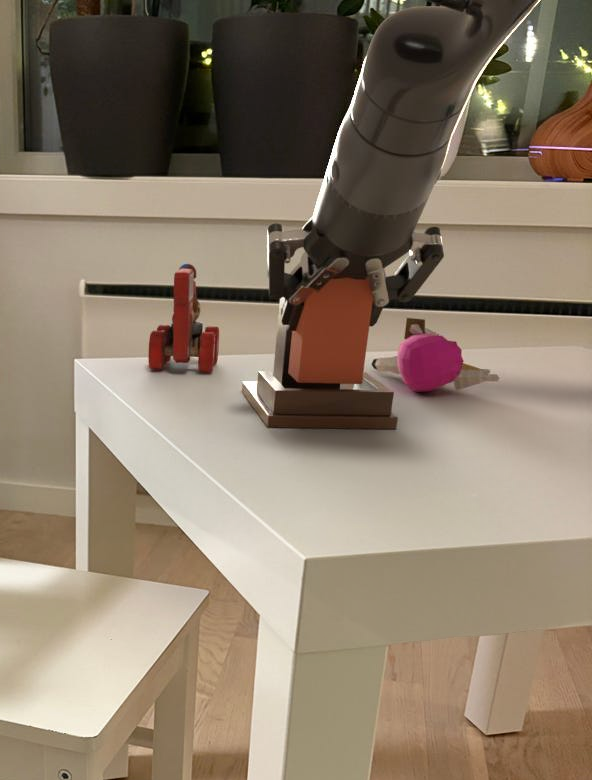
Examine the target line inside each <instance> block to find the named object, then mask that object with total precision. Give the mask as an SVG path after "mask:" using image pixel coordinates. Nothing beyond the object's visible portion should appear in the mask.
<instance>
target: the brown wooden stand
mask: <svg viewBox="0 0 592 780" xmlns="http://www.w3.org/2000/svg"><path fill="white" fill-rule="evenodd" d="M283 298H284V297H282V298H281V299H279V305H278V306H279V307H278V315H277V316H278V317H277V325H276V326H277V328H276V340H275V351H274V360H273V361H274V362H273V370H272V371H273V372H271V371H269V370H258V372H257V381H247V380H246V381H244V380H243V381H242V382H241V392H242V394H243V396H244V397H245V398H246V400H247V401H248V402H249V403H250V405H251V406H252V408H253V409H254V410H255V412H256V413H257V415H258V416H259V418H260V419H261V420H262V422H263V423H264V425H265V426H266V427H267V428H281V429H282V428H283V429H285V428H286V429H288V428H289V429H297V428H298V429H351V430H352V429H355V430H356V429H360V430H397V429H398V428H397V427H398V421H399V417H398V416H396V415H395V414H394V413H393V412H392V410H393V402H394V395H395V392H394V391H393V390H392V389H390V388H388V387H387V385H386V386H385V384H383V383H382V382H380V381H379V380H378V379H376V378H375V377H374V376H372V375H371V374H369V373H368V372H364V371H363V379H362V384H334V383H298V382H297V381H296V380H295V379H294V378H293V377H292V376H291V375H290V374H289V373H288V370H289V359H290V349H291V339H292V331H287V325H283V324H282V319H281V305H282V302H283Z"/></svg>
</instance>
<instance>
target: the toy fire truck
mask: <svg viewBox="0 0 592 780" xmlns="http://www.w3.org/2000/svg"><path fill="white" fill-rule="evenodd" d="M173 275H174V276H173V307H172V308H173V314H172V317H171V322H172V323H171V324H170V325H169V324H159V325H157V328H156V330H152V331H151V332H150V334H149V340H148V353H147V354H148V357H147V359H148V367H149V369H150V370H151V371H163V370H164V368H165V365H166V363H169V362H170V361H171V358H172V359H173V360H174V363H176V364H181V363H182V364H185V363H189V362H190V359H191V357H193V358H197V369H198V372H200V373H212V372H213V371H214V366H215V365H217V364H218V358H219V347H220V327H219V326H215V325H214V326H213V325H207V326H205V329H204V327H203V326H204V325H203V322H200V321H197V320H198V319H199V317H200V315H201V310H202V309H201V304H200V302H199V300H198V299H197V282H196V281H195V279H197V269H196V268H195V266H194V265H193V264H191V263H184V264H182V265H181V266H180V267H179V269H177V271H175V272H174V273H173ZM203 329H204V331H203Z"/></svg>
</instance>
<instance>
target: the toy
mask: <svg viewBox="0 0 592 780" xmlns="http://www.w3.org/2000/svg"><path fill="white" fill-rule="evenodd" d="M462 351H463V350H462V348H461V347H460V346H459V345H458V343H457V341H456V340H455V341H454V340H448V339H447V338H446V337H445V336H444V335H440V333H437V331H433V330H431V329H429V328H427V327H426V319H423V318H412V317H406V322H405V330H404V338H403V341H401V342H400V345H399V347H398V351H397V354H396V355H395V356H390V357H389V356H388V357H379V358H378V357H377V358H373V360H372V362H371V363H370V365H371V367H372V368H373V369H374V370H377V371H379V372H387V373H392V374H395V375H400V377H401V379H402V382H403V383H404V384H405V385H406V386H407V387H408V388H409V389H410V390H412V391H413V392H415V393H416V392H430V391H433V390H436V389H439V388H441V387H444V386H445V385H447V384H449V383H453V385H454V390H455V391H456V392H457V391H460V390H463V389H466V388H469V387H472V386H476V385H479V384H481V383H485V382H499V380H500V377H499V375H498V374H497V373H495V374H494V373H491V370H490V369H487V368H479V367H476V366H473V365H470V364H468V363H464V362H465V361H464V359H463V355H462V354H463V353H462Z"/></svg>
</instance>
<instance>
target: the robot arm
mask: <svg viewBox="0 0 592 780" xmlns="http://www.w3.org/2000/svg"><path fill="white" fill-rule="evenodd" d="M424 1H426V2H429V3H432V4H435V5H429V6H427V5H426V6H425V5H423V6H422V5H420V6H412V7H407V8H402V9H400V10H398V11H396V12H393V13H392V14H390V15H389V16H387V17H386V18H385V19H384V20H383V21H382V22H381V23H380V24H379V26H377V28H376V30H375V32H374V34H373V36H372V38H371V40H370V43H369V46H368V48H367V52H366V54H365V57H364V61H363V64H362V68H361V71H360V74H359V78H358V81H357V84H356V87H355V90H354V95H353V97H352V99H351V103H350V105H349V108H348V110H347V112H346V113H345V116H344V117H343V120H342V123H341V125H340V126H339V130H338V132H337V136H336V139H335V142H334V145H333V148H332V152H331V155H330V157H329V158H330V159H329V161H328V165H327V168H326V171H325V175H324V179H323V182H322V185H321V188H320V192H319V194H318V197H317V201H316V205H315V208H314V212H313V215H312V217H311V218H310V219H309V220H308V221H307V222H306V223H305V224H304V225H303V227H302V229H293V230H287V231H286V230H284V227H283V225H282V224H281V223H277V222H276V223H271V224H270V225H269V226H267V230H266V231H267V232H266V233H267V235H266V237H267V238H266V239H267V241H266V243H267V245H266V248H267V249H266V251H267V253H266V254H267V256H266V257H267V259H266V260H267V263H266V264H267V266H266V267H267V270H266V271H267V278H268V298H269V299H271V300H274V301H277V300H280V299H281V298H282V297H284V298H283V302H282V305H281V319H282V324H283V325H287V331H296V328H297V325H298V322H299V319H300V316H301V313H302V310H303V307H304V301H305V300H306V299H307V297H308V296H309V295H310V294H311V293H312V292H313V291H315V292H319V291H320V290H321V289H322V288H323V287H324V286H325V285H326V284H327V283H328V282H329V281H330V280H331V279H341V278H352V279H356V280H366V278H367V277H368V279H369V284H370V289H371V293H372V297H373V302H372V310H371V317H370V325H369V327H374V326H375V325H376V324H377V323H378V321H379V318H380V316H381V315H382V311H383V309H384V308H385V306H387V305H388V304H389V303H390V301H393V300H396V299H397V301H399V302H400V303H406V302H407V303H408V302H409V301H410V300H412V299H413V298H414V296H415V295H416V294H417V293H418V292H419V290H420V289H421V287H423V285H424V283H425V282H426V281H427V280H428V278H430V276H431V274H433V272H434V271H435V269H437V267H438V265H439V264H440V263H441V262H442V261H443V259H444V257H445V254H444V252H445V251H444V247H443V240H442V239H443V238H442V232H441V228H440V227H438V226H431V227H428V228H426V230H425V231H424V232H423V233H422V232H416V231H415V230H416V228H417V225H418V222H419V220H420V218H421V216H422V214H423V211H424V209H425V208H426V205H427V203H428V201H429V199H430V196H431V193H432V191H433V189H434V188H435V187H434V186H435V185H436V184H437V182H438V181H439V179H440V177H441V173H442V170H443V167H444V164H445V161H446V158H447V156H448V151H449V149H450V144H451V140H452V138H453V135H454V133H455V130H456V128H457V126H458V123H459V121H460V119H461V118H462V115H463V112H464V111H465V108H466V105H467V103H468V101H469V99H470V96H471V94H472V92H473V90H474V88H475V86H476V84H477V82H478V80H479V79H480V77H481V75H482V74H483V72H484V70H485V69H486V67H487V65H488V64H489V63H490V62H491V60H492V59H493V57H494V56H495V55H496V53H497V52H498V50H499V49H500V48H501V47H502V46H503V44H504V43H505V42H506V41H507V39H509V37H510V36H511V35H512V33H514V31H515V30H516V29H517V28H518V27H519V26H520V25H521V23H522V22H523V21H524V20H525V19H526V18H527V16H528V15H530V13H531V12H532V11H533V9H534V8H535V7H536V6H537V5H538V3H539V2H540V1H541V0H424ZM436 5H437V6H436ZM301 248H302V249H303V250H304V251H303V253H302V255H301V258H300V261H299V262H298V264H297V265H296V266H294V268H293V269H292V270H291V271H290V273H288V272H285V271H286V270H285V264H290V263H291V259H292V258H293V257H294V256H295V253H296V251H297V250H299V249H301ZM406 254H407V256H406V258H405V259H404V260H403V262H402V263H401V264H400V266H399V267H398V268H397V270H396V271H395V273H394V274H393V275H389V276H387V274H386V268H387V267H389V266H390V265H392V264H393V263H394V262H396V261H398V260H399V259H401V258H402V257H403V256H405V255H406Z"/></svg>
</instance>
